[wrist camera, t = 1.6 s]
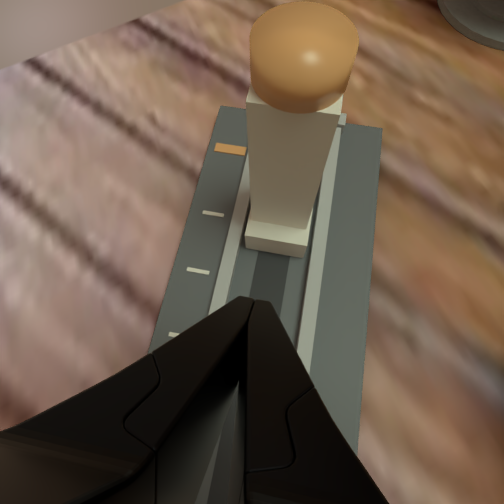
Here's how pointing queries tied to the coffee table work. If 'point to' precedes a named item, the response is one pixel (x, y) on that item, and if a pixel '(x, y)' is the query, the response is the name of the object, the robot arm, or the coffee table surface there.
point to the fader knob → (293, 117)
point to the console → (283, 271)
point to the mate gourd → (477, 20)
